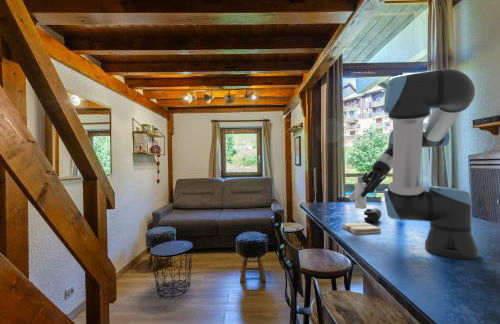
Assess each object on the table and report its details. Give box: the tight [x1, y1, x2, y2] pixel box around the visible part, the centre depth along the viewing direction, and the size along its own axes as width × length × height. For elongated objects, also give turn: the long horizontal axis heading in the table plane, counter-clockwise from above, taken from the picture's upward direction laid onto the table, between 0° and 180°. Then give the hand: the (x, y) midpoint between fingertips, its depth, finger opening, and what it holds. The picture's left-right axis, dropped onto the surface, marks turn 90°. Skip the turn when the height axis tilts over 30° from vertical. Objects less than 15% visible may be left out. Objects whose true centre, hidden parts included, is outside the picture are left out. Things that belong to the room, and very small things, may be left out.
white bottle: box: [354, 176, 367, 210], centre depth 120 cm, size 5×5×15 cm
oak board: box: [342, 221, 382, 235], centre depth 119 cm, size 12×12×2 cm
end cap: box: [363, 208, 382, 225], centre depth 134 cm, size 10×7×7 cm
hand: (353, 200), depth 119 cm, fingers closed on white bottle, 5 cm apart
